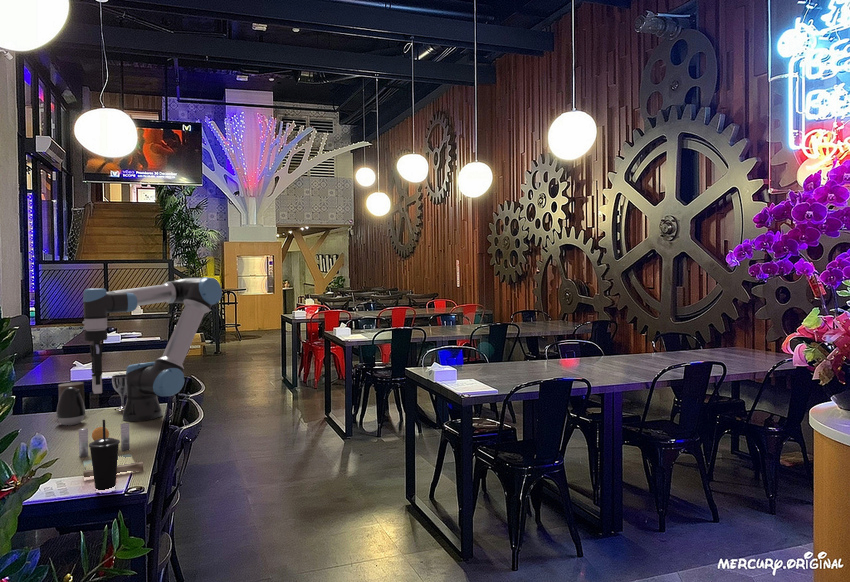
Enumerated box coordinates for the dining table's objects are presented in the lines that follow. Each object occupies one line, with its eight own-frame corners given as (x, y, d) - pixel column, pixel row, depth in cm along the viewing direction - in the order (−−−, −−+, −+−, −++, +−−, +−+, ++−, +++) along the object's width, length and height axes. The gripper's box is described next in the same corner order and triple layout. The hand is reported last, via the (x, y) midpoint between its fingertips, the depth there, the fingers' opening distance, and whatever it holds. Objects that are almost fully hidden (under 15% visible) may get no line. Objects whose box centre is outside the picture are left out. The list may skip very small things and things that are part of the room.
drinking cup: (105, 485, 176) (103, 416, 176) (127, 487, 174) (125, 417, 173) (83, 494, 169) (81, 422, 168) (105, 497, 167) (104, 424, 166)
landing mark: (130, 454, 207) (130, 453, 207) (136, 465, 195) (136, 464, 195) (82, 461, 199) (82, 461, 199) (85, 473, 187) (85, 472, 187)
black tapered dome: (70, 427, 244) (69, 389, 243) (50, 426, 247) (49, 388, 247) (91, 421, 254) (90, 385, 253) (72, 420, 257) (71, 384, 256)
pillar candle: (88, 415, 266) (87, 380, 266) (63, 419, 259) (62, 383, 259) (80, 412, 273) (79, 378, 273) (55, 415, 266) (54, 381, 265)
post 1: (87, 454, 207) (87, 427, 207) (88, 456, 205) (87, 429, 205) (79, 455, 206) (78, 428, 206) (79, 457, 204) (78, 430, 203)
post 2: (129, 448, 214) (128, 422, 214) (130, 450, 212) (129, 424, 212) (120, 449, 213) (120, 423, 212) (121, 451, 210) (121, 425, 210)
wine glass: (134, 406, 283) (133, 373, 283) (129, 410, 275) (128, 376, 275) (116, 407, 282) (115, 374, 281) (110, 411, 274) (109, 377, 273)
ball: (108, 439, 226) (108, 424, 226) (110, 442, 221) (109, 427, 221) (91, 441, 223) (91, 426, 223) (92, 445, 218) (92, 429, 218)
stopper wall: (142, 469, 190) (142, 461, 190) (143, 471, 189) (143, 463, 189) (83, 479, 182) (83, 470, 182) (83, 481, 180) (83, 472, 180)
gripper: (82, 328, 235) (84, 389, 235) (86, 332, 220) (87, 397, 220) (104, 327, 239) (106, 387, 239) (109, 331, 224) (111, 394, 224)
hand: (97, 391), depth 230 cm, fingers open, 5 cm apart
